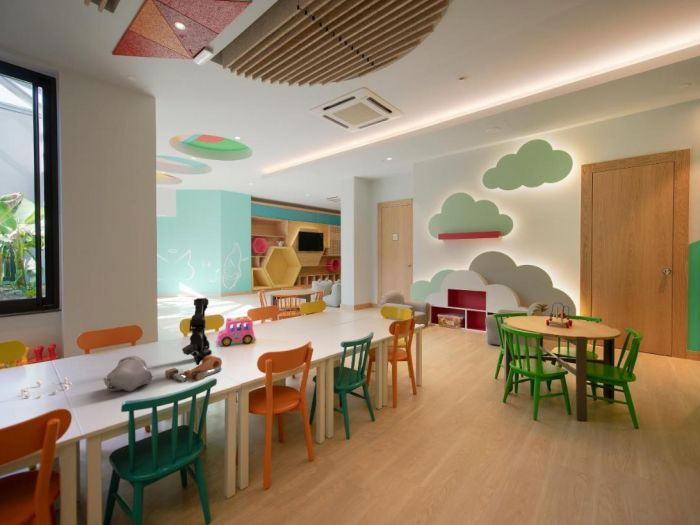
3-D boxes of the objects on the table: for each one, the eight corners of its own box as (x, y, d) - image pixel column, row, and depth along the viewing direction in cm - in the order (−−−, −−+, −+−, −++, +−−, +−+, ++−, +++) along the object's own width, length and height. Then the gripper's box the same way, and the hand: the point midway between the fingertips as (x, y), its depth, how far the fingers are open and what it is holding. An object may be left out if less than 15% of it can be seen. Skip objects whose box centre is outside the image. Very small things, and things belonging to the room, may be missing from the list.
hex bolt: (165, 377, 181) (165, 370, 181) (174, 374, 185) (174, 367, 185) (179, 383, 173) (179, 376, 173) (188, 380, 178) (188, 373, 178)
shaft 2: (197, 381, 177) (197, 373, 177) (192, 379, 179) (191, 372, 179) (222, 371, 190) (222, 365, 190) (217, 370, 193) (217, 363, 193)
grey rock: (104, 402, 154) (106, 373, 152) (101, 383, 167) (103, 356, 165) (152, 393, 168) (155, 366, 165) (147, 376, 180) (149, 351, 178)
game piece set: (19, 390, 163) (19, 383, 163) (71, 379, 177) (71, 372, 177) (18, 404, 150) (18, 396, 149) (75, 391, 164) (74, 383, 163)
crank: (213, 366, 200) (213, 353, 200) (221, 368, 196) (221, 355, 196) (182, 376, 183) (182, 363, 183) (190, 380, 179) (190, 365, 178)
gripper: (175, 339, 189) (175, 365, 189) (194, 344, 179) (194, 372, 180) (193, 335, 198) (193, 360, 199) (212, 340, 188) (212, 366, 189)
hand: (197, 364), depth 191 cm, fingers closed
